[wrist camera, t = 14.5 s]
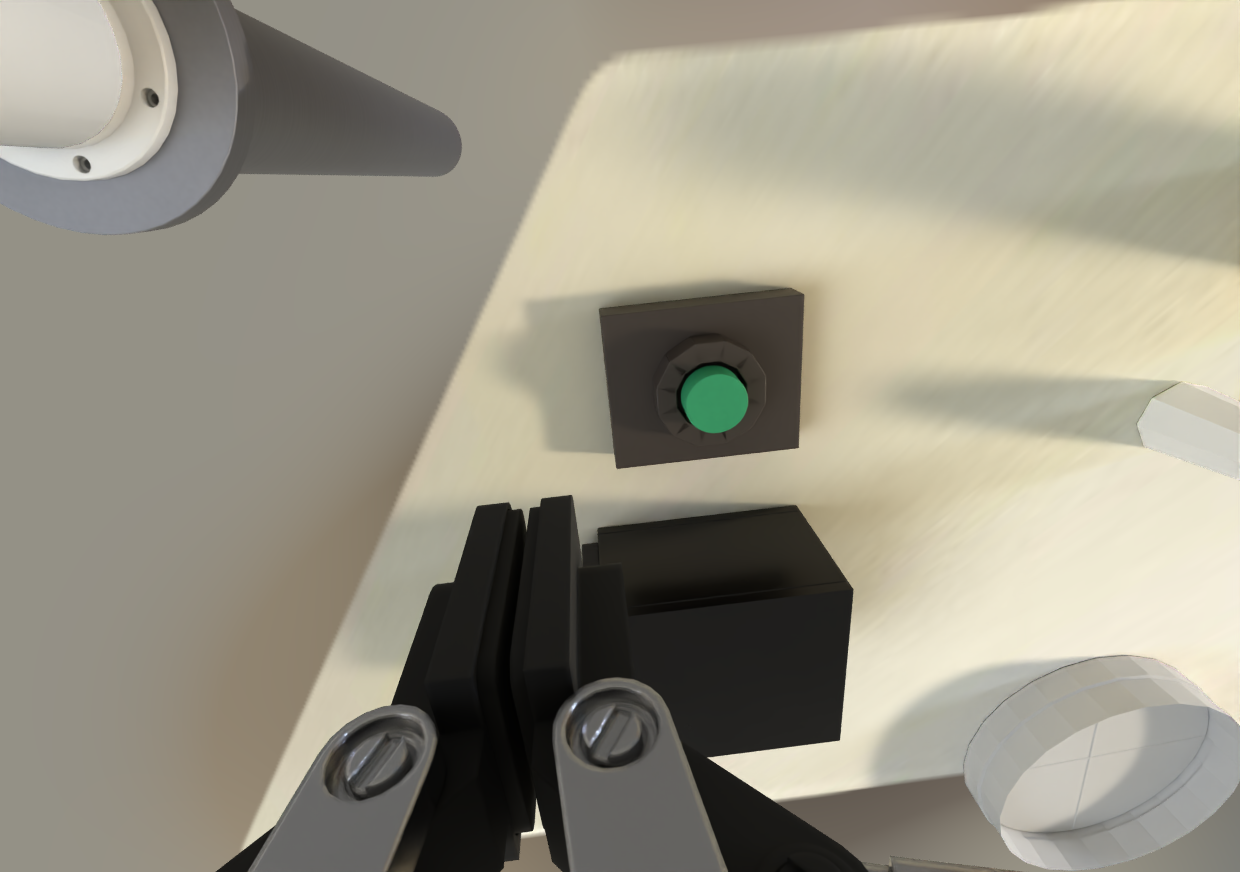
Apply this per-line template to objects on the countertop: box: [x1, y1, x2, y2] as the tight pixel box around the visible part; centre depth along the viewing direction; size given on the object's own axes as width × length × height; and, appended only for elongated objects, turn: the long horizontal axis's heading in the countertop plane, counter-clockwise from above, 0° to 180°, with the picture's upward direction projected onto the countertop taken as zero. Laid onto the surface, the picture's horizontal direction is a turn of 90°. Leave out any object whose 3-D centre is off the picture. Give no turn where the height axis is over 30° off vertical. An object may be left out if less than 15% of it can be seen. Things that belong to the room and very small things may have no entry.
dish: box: [963, 655, 1240, 871], centre depth 53 cm, size 22×22×5 cm
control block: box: [599, 288, 804, 469], centre depth 36 cm, size 10×12×4 cm
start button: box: [681, 365, 748, 433], centre depth 34 cm, size 4×4×2 cm
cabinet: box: [597, 505, 853, 757], centre depth 40 cm, size 15×13×10 cm
